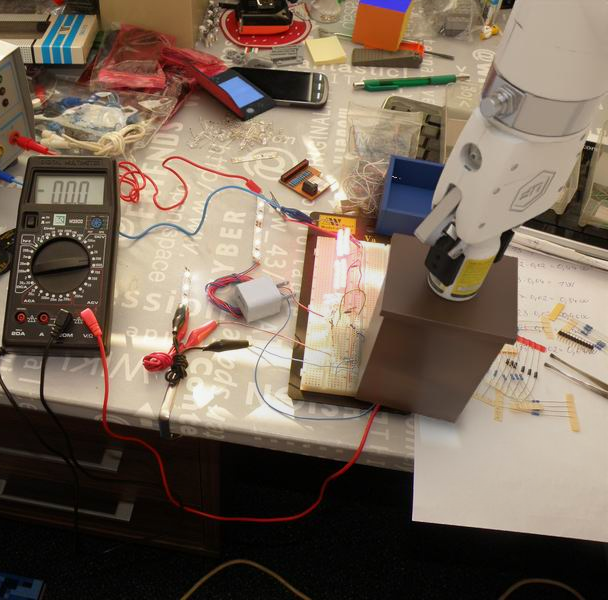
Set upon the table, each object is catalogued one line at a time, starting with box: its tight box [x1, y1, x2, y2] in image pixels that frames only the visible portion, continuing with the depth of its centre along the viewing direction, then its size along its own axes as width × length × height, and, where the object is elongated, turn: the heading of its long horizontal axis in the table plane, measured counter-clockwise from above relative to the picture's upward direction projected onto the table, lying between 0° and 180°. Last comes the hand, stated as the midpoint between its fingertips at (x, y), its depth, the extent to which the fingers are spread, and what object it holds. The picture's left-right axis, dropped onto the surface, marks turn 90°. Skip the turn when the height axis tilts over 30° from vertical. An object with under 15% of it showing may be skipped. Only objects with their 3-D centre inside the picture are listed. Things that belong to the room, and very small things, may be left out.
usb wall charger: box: [234, 274, 297, 324], centre depth 82 cm, size 4×7×4 cm, turn 112°
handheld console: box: [180, 57, 277, 123], centre depth 106 cm, size 12×11×7 cm
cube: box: [351, 0, 415, 53], centre depth 117 cm, size 8×8×8 cm
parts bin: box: [374, 154, 446, 238], centre depth 91 cm, size 11×11×5 cm
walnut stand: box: [354, 233, 519, 424], centre depth 70 cm, size 12×10×18 cm
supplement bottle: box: [428, 224, 502, 301], centre depth 59 cm, size 5×5×8 cm
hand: (462, 262), depth 60 cm, fingers closed on supplement bottle, 4 cm apart
